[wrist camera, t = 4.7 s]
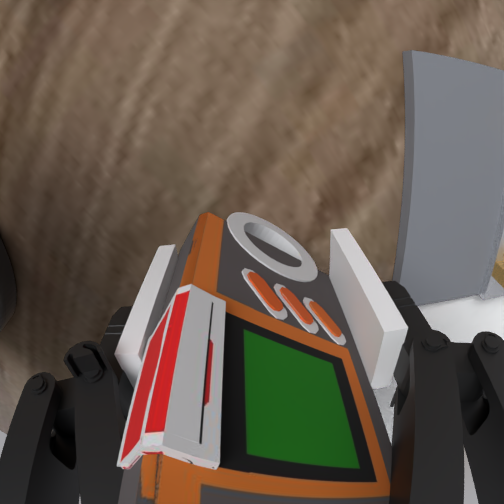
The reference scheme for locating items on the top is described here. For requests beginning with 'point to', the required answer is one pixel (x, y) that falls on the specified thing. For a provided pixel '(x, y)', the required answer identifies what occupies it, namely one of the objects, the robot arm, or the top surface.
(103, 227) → the top surface
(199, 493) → the electronic device
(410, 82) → the panel
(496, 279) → the rail
